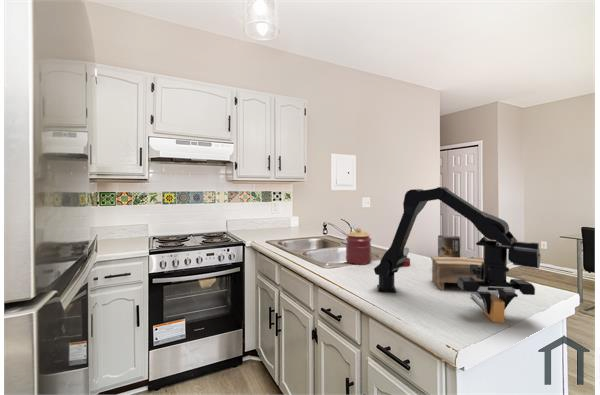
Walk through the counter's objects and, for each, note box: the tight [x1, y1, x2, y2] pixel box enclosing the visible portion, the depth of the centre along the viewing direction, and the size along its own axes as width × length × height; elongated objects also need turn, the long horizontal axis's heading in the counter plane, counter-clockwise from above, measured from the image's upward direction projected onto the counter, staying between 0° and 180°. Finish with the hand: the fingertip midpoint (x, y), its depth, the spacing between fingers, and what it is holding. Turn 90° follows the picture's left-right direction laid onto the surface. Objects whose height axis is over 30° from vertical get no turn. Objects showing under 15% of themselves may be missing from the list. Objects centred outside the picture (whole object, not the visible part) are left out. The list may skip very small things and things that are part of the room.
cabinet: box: [430, 256, 499, 294], centre depth 116 cm, size 12×22×10 cm, turn 80°
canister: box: [345, 227, 372, 266], centre depth 154 cm, size 13×13×18 cm
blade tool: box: [469, 289, 505, 324], centre depth 95 cm, size 19×9×6 cm, turn 170°
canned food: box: [401, 247, 411, 268], centre depth 149 cm, size 11×10×10 cm
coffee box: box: [437, 234, 461, 258], centre depth 135 cm, size 9×6×16 cm
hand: (493, 313), depth 89 cm, fingers closed on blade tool, 3 cm apart
